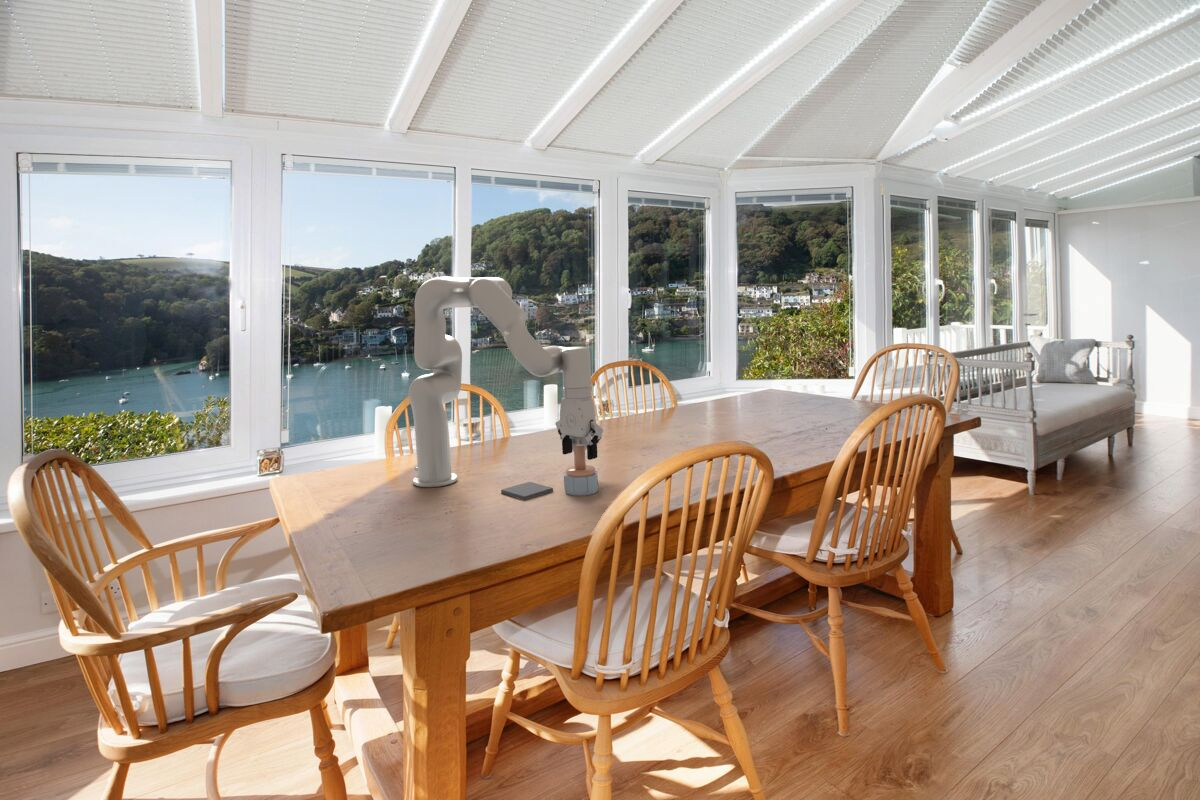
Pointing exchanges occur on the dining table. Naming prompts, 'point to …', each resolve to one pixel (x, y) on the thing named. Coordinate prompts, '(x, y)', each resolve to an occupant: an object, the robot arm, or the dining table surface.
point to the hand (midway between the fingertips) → (579, 456)
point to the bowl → (581, 485)
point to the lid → (580, 464)
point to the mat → (527, 490)
